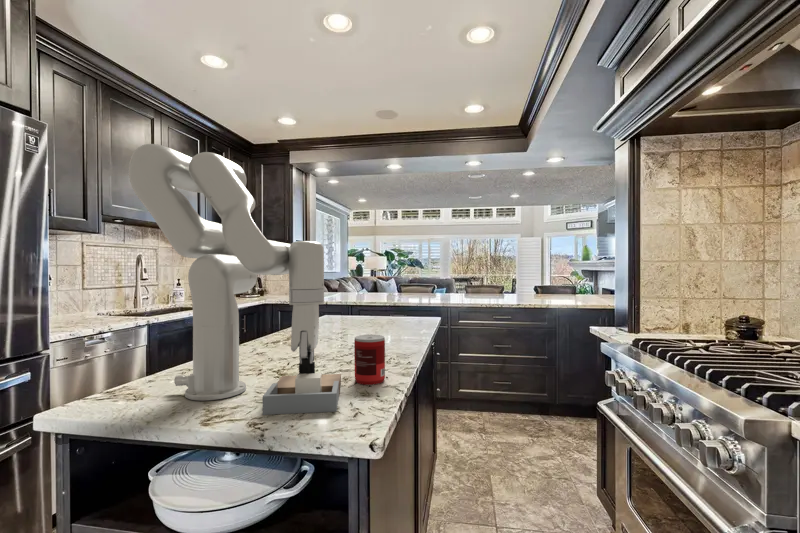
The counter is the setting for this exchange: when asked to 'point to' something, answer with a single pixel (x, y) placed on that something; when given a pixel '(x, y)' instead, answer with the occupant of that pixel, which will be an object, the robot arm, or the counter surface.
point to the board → (288, 383)
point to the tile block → (308, 383)
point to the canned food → (369, 359)
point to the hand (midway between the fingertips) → (307, 380)
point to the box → (300, 401)
